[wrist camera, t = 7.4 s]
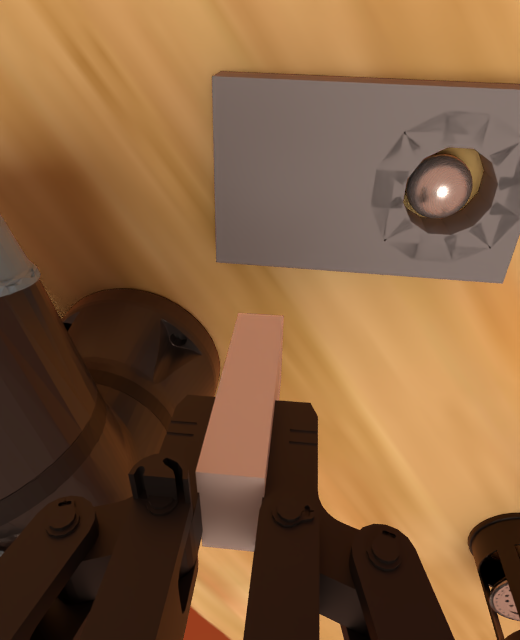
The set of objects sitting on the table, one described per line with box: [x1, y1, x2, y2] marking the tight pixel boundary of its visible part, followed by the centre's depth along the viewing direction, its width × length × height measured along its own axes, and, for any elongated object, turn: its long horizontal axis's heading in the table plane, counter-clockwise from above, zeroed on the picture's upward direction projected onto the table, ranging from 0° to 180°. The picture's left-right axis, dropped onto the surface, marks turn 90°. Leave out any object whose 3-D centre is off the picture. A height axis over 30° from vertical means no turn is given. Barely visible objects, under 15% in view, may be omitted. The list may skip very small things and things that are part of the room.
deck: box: [212, 71, 520, 284], centre depth 31 cm, size 20×12×3 cm, turn 89°
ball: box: [406, 154, 472, 218], centre depth 31 cm, size 4×4×4 cm
